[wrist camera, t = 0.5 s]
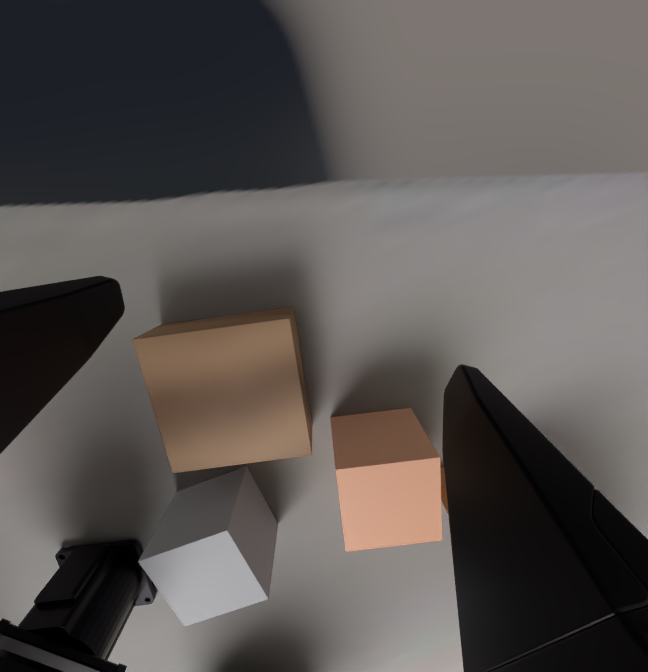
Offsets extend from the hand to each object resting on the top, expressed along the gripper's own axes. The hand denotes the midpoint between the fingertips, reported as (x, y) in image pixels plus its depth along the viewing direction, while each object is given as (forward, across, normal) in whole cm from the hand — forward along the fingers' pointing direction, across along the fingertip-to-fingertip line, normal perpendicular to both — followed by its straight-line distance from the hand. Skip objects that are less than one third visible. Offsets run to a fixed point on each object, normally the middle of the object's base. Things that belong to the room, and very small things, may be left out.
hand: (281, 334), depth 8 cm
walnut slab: (+10, +5, +12) cm, 16 cm away
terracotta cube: (+10, -6, +16) cm, 20 cm away
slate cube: (+6, +4, +22) cm, 24 cm away
